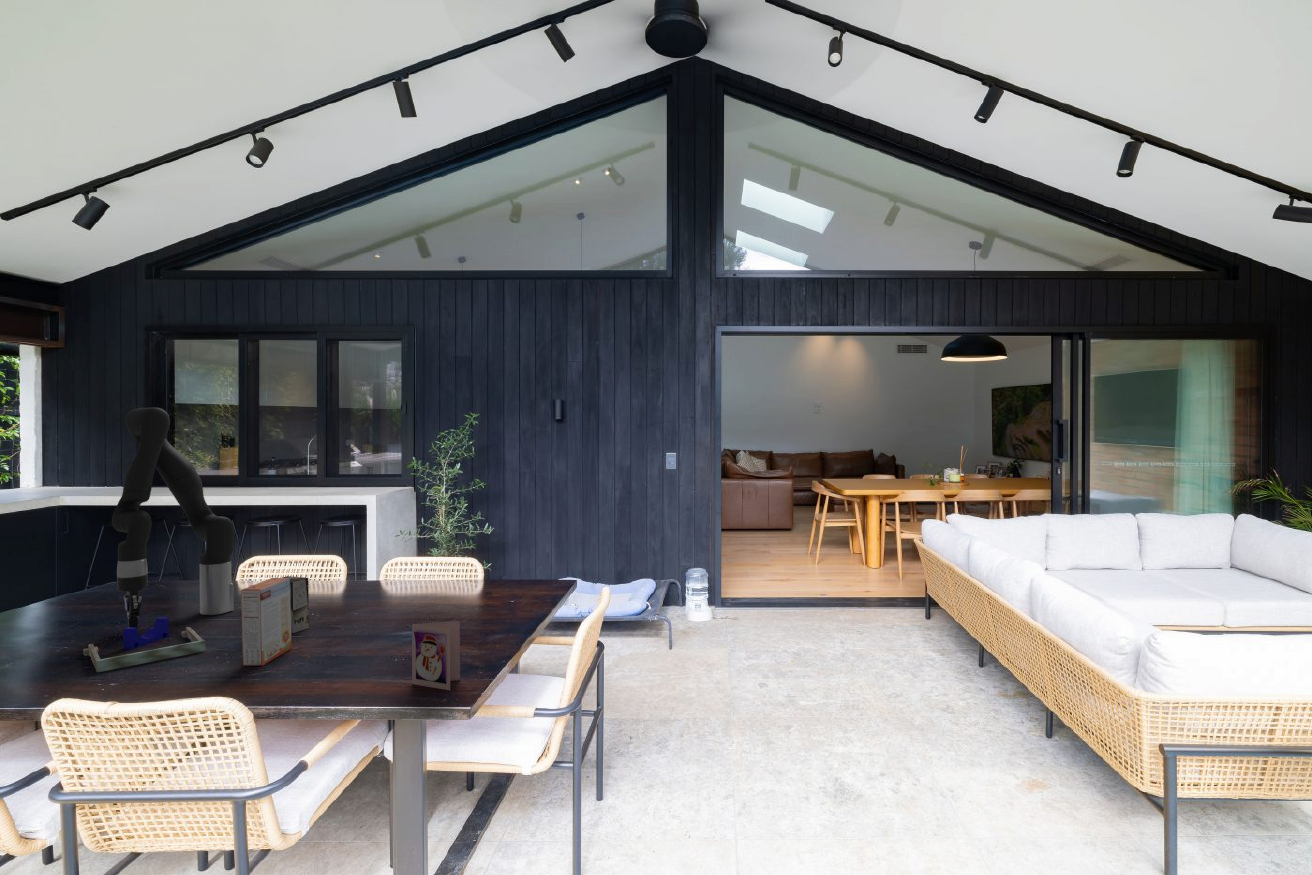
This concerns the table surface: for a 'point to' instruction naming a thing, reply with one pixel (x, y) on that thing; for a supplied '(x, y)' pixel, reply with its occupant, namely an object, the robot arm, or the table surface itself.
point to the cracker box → (265, 621)
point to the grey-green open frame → (147, 653)
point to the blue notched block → (146, 634)
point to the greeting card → (436, 654)
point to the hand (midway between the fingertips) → (133, 629)
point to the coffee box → (299, 603)
